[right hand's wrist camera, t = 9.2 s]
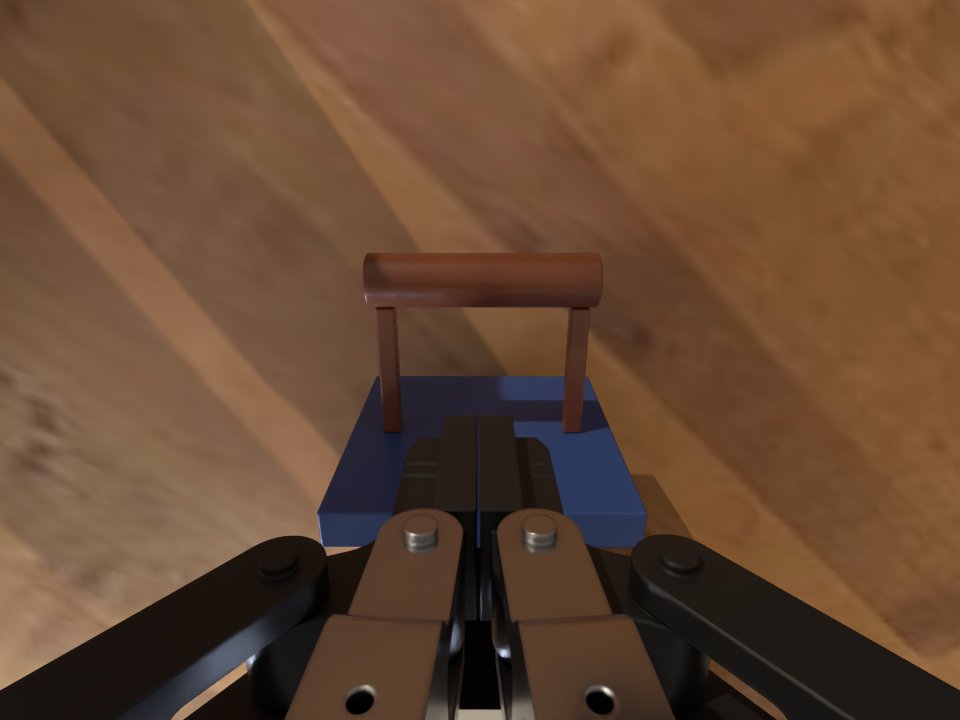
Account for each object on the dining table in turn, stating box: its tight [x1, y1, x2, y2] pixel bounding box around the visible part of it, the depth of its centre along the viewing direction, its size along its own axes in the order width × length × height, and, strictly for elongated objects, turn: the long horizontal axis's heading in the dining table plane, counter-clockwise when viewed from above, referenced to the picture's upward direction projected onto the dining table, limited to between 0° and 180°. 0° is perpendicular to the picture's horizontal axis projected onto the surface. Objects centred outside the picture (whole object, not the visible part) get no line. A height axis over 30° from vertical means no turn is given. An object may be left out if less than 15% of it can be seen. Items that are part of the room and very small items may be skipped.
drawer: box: [317, 253, 647, 710], centre depth 21 cm, size 19×9×9 cm, turn 0°
